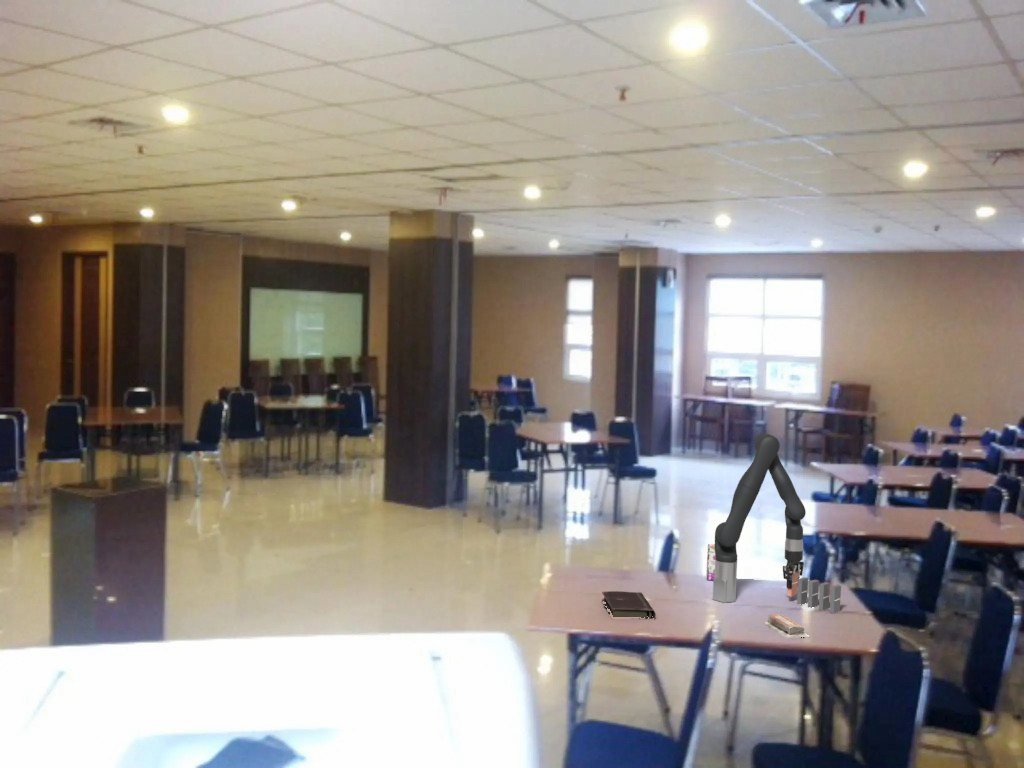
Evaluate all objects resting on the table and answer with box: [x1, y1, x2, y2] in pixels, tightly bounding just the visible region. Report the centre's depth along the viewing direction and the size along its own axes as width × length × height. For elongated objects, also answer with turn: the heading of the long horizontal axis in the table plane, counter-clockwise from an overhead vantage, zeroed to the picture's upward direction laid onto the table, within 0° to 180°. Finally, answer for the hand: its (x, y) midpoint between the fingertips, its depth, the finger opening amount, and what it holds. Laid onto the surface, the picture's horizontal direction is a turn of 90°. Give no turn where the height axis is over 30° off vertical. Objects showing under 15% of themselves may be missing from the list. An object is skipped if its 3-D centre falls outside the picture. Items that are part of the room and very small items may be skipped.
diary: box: [601, 590, 656, 619], centre depth 392 cm, size 19×25×5 cm
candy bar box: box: [705, 543, 715, 582], centre depth 441 cm, size 11×5×16 cm, turn 84°
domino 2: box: [796, 576, 809, 606], centre depth 406 cm, size 2×5×11 cm, turn 133°
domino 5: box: [829, 584, 842, 614], centre depth 396 cm, size 2×5×11 cm, turn 133°
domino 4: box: [818, 581, 831, 612], centre depth 399 cm, size 2×5×11 cm, turn 134°
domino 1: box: [787, 570, 798, 598], centre depth 410 cm, size 2×5×11 cm, turn 133°
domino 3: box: [807, 579, 820, 609], centre depth 403 cm, size 2×5×11 cm, turn 134°
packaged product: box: [763, 613, 810, 639], centre depth 369 cm, size 18×5×10 cm
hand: (792, 587), depth 410 cm, fingers closed on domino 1, 5 cm apart
